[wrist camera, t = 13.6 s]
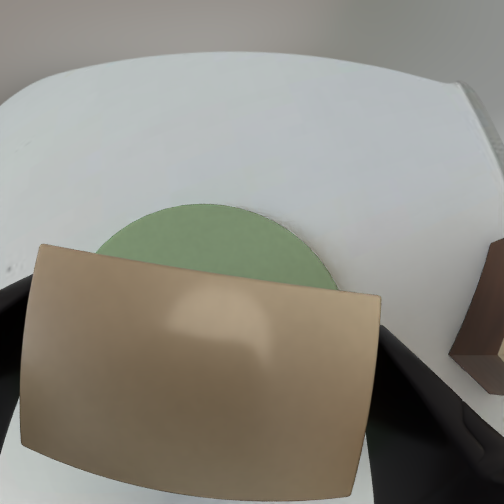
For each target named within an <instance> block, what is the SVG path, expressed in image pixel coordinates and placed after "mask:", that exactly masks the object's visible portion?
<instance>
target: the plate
mask: <svg viewBox="0 0 504 504" xmlns="http://www.w3.org/2000/svg"><path fill="white" fill-rule="evenodd" d="M96 254H102V255H108V256H113V257H119V258H125V259H131V260H137V261H143V262H149V263H155V264H161V265H167V266H173V267H179V268H185V269H192V270H198V271H205V272H211V273H218V274H224V275H231V276H238V277H244V278H251V279H258V280H265V281H272V282H279V283H287V284H294V285H301V286H309V287H316V288H324V289H332V290H338V288H337V286H336V284H335V282H334V281H333V279H332V277H331V275H330V273H329V272H328V270H327V269H326V268H325V266H324V265H323V264H322V262H321V261H320V260H319V258H318V257H317V256H316V255H315V254H314V253H313V252H312V251H311V250H310V249H309V247H308V246H307V245H306V244H305V243H303V242H302V241H301V240H300V239H299V238H297V237H296V236H295V235H294V234H292V233H291V232H290V231H288V230H287V229H285V228H283V227H282V226H280V225H279V224H277V223H275V222H274V221H271V220H269V219H267V218H265V217H263V216H261V215H258V214H256V213H253V212H250V211H246V210H243V209H240V208H235V207H230V206H224V205H214V204H193V205H182V206H177V207H172V208H167V209H163V210H161V211H158V212H155V213H152V214H149V215H146V216H144V217H142V218H140V219H138V220H136V221H134V222H132V223H131V224H129V225H128V226H126V227H125V228H123V229H122V230H120V231H119V232H117V233H116V234H115V235H113V236H112V237H111V238H110V239H109V240H108V241H107V242H106V243H104V244H103V245H102V246H101V247H100V248H99V250H98V251H97V252H96Z"/></svg>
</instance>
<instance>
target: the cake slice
mask: <svg viewBox="0 0 504 504" xmlns="http://www.w3.org/2000/svg"><path fill="white" fill-rule="evenodd" d="M380 313H381V297H380V296H378V295H372V294H364V293H355V292H347V291H339V290H332V289H324V288H316V287H309V286H301V285H294V284H287V283H279V282H272V281H265V280H258V279H251V278H244V277H238V276H231V275H224V274H218V273H211V272H205V271H198V270H192V269H185V268H179V267H173V266H167V265H161V264H155V263H149V262H143V261H137V260H131V259H125V258H119V257H113V256H108V255H102V254H96V253H91V252H85V251H80V250H74V249H69V248H64V247H58V246H53V245H48V244H41V245H40V247H39V251H38V255H37V259H36V263H35V268H34V273H33V278H32V283H31V288H30V293H29V299H28V305H27V312H26V319H25V327H24V335H23V345H22V356H21V372H20V433H21V444H22V445H23V446H25V447H27V448H29V449H31V450H34V451H36V452H38V453H40V454H43V455H45V456H47V457H50V458H52V459H54V460H57V461H59V462H62V463H65V464H67V465H70V466H73V467H75V468H78V469H81V470H84V471H87V472H90V473H93V474H96V475H99V476H103V477H106V478H110V479H113V480H117V481H120V482H124V483H128V484H132V485H136V486H141V487H145V488H150V489H154V490H159V491H165V492H170V493H176V494H182V495H189V496H197V497H205V498H214V499H225V500H240V501H306V500H321V499H332V498H341V497H348V496H350V495H351V492H352V488H353V485H354V481H355V477H356V473H357V469H358V464H359V460H360V456H361V451H362V446H363V441H364V436H365V431H366V426H367V421H368V415H369V409H370V403H371V396H372V390H373V382H374V375H375V367H376V358H377V349H378V339H379V327H380Z"/></svg>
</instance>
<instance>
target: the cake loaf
mask: <svg viewBox="0 0 504 504" xmlns="http://www.w3.org/2000/svg"><path fill="white" fill-rule="evenodd" d="M449 355H450V356H451V357H452V358H453V359H454V360H455V361H456V362H457V363H458V364H459V365H460V366H461V367H462V368H463V369H464V370H465V371H467V372H468V373H469V374H470V375H471V376H472V377H473V378H474V379H475V380H476V381H477V382H478V383H479V384H480V385H481V386H482V387H483V388H484V389H485V390H486V391H487V392H488V393H489V394H495V395H504V238H503V239H500V240H498V241H495V242H493V243H491V245H490V248H489V252H488V255H487V259H486V262H485V265H484V268H483V271H482V274H481V277H480V280H479V283H478V286H477V289H476V291H475V294H474V297H473V299H472V302H471V305H470V307H469V310H468V312H467V315H466V317H465V319H464V322H463V324H462V326H461V329H460V331H459V333H458V336H457V338H456V340H455V342H454V344H453V346H452V348H451V351H450V353H449Z"/></svg>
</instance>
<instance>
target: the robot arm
mask: <svg viewBox="0 0 504 504" xmlns="http://www.w3.org/2000/svg"><path fill="white" fill-rule="evenodd" d="M32 278H33V274H32V275H30V276H28V277H26V278H23V279H21V280H19V281H17V282H15V283H13V284H11V285H9V286H7V287H5V288H3V289H1V290H0V454H1V450H2V447H3V443H4V440H5V437H6V434H7V430H8V427H9V424H10V421H11V418H12V415H13V413H14V410H15V407H16V404H17V402H18V399H19V396H20V372H21V356H22V345H23V335H24V327H25V319H26V312H27V305H28V299H29V293H30V288H31V283H32ZM365 432H366V439H367V446H368V453H369V460H370V468H371V476H372V485H373V494H374V504H504V437H503V436H502V435H501V434H499V433H498V432H497V431H496V430H495V429H493V428H492V427H491V426H490V425H489V424H488V423H487V422H485V421H484V420H483V419H482V418H481V417H480V416H479V415H478V414H477V413H476V412H475V411H473V410H472V409H471V408H470V407H469V406H468V405H467V404H466V403H465V402H464V401H463V402H462V399H461V398H460V397H459V396H458V395H457V394H456V393H455V392H454V391H453V390H452V389H451V388H450V387H449V386H448V385H447V384H445V383H444V382H443V381H442V380H441V379H440V378H439V377H438V376H437V375H436V374H435V373H434V372H433V371H432V370H431V369H430V368H429V367H427V366H426V365H425V364H424V363H423V362H422V361H421V360H420V359H419V358H418V357H417V356H416V355H415V354H414V353H412V352H411V351H410V350H409V349H408V348H407V347H406V346H405V345H404V344H403V343H402V342H401V341H399V340H398V339H397V338H396V337H395V336H394V335H393V334H392V333H391V332H390V331H389V330H387V329H386V328H385V327H384V326H383V325H380V327H379V339H378V349H377V358H376V367H375V375H374V382H373V390H372V396H371V403H370V409H369V415H368V421H367V426H366V431H365Z"/></svg>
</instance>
